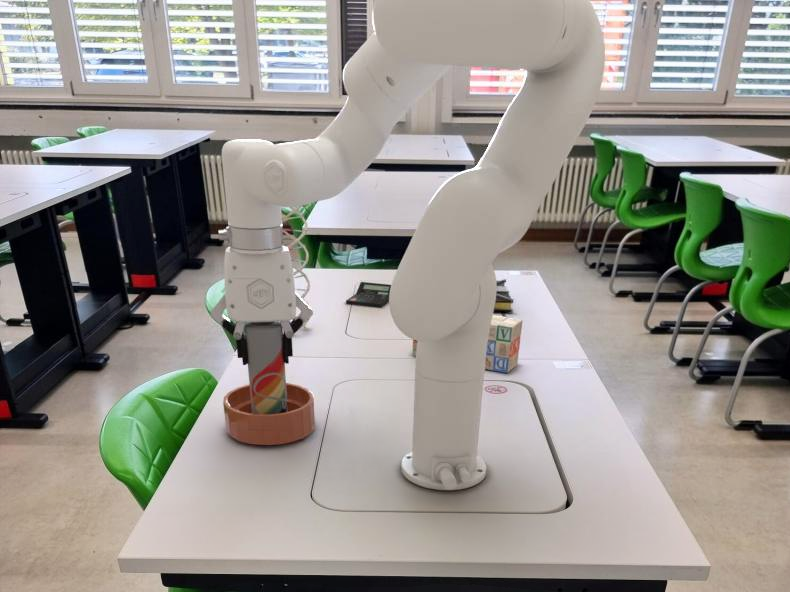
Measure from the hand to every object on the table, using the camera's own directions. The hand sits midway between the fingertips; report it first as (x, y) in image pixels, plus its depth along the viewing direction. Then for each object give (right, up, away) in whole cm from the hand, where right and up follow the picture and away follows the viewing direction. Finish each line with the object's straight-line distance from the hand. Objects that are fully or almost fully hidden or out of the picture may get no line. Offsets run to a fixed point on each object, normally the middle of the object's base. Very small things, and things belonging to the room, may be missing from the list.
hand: (265, 360), depth 113 cm
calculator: (+13, +33, +75) cm, 83 cm away
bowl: (0, -10, +6) cm, 12 cm away
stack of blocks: (+34, +9, +37) cm, 51 cm away
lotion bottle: (0, -8, +5) cm, 10 cm away
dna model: (-2, +18, +51) cm, 54 cm away
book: (+41, +33, +76) cm, 92 cm away
